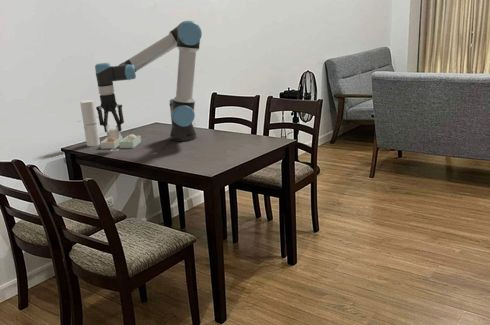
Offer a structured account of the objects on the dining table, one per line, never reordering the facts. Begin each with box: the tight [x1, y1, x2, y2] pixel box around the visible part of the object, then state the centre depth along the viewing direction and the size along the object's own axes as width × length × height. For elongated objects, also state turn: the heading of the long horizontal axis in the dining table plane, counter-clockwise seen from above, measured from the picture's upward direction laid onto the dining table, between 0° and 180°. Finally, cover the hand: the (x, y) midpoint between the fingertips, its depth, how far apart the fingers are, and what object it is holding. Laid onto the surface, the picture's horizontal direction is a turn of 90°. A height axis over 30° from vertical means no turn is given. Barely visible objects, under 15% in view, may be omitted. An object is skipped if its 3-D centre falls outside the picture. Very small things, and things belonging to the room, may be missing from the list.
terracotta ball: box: [107, 137, 116, 142], centre depth 270 cm, size 5×5×5 cm
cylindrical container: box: [79, 99, 101, 147], centre depth 271 cm, size 7×7×25 cm
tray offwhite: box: [100, 135, 124, 150], centre depth 270 cm, size 8×13×4 cm, turn 174°
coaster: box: [109, 148, 120, 152], centre depth 260 cm, size 4×4×1 cm
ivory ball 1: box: [109, 127, 117, 138], centre depth 257 cm, size 5×5×5 cm
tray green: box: [119, 135, 142, 149], centre depth 269 cm, size 8×13×4 cm, turn 174°
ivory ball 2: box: [127, 134, 137, 142], centre depth 271 cm, size 5×5×5 cm
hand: (114, 137), depth 258 cm, fingers closed on ivory ball 1, 5 cm apart
